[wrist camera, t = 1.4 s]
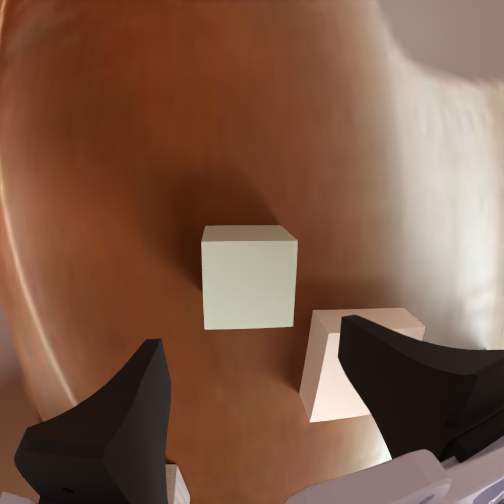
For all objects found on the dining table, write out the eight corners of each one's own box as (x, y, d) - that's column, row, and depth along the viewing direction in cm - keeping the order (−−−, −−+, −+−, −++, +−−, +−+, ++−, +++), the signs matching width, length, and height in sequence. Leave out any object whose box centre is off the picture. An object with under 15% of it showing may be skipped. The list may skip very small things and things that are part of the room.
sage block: (280, 225, 22) (297, 240, 17) (277, 294, 23) (292, 326, 18) (205, 225, 21) (201, 241, 16) (207, 296, 22) (204, 329, 18)
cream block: (400, 306, 25) (426, 326, 21) (379, 383, 26) (398, 408, 23) (311, 308, 24) (328, 333, 20) (298, 391, 26) (309, 422, 22)
